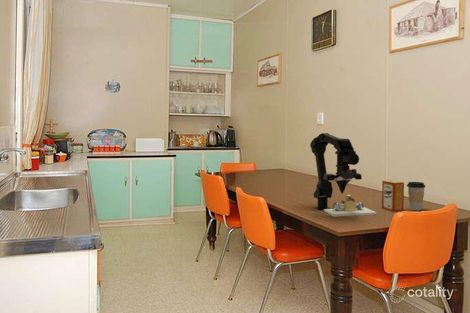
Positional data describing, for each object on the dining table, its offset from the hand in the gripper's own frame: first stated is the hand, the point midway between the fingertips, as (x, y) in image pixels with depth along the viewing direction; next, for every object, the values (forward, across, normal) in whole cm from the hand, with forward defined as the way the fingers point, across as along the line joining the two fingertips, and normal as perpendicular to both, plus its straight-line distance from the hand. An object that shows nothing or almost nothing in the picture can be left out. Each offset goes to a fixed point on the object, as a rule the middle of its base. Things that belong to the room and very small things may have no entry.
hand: (342, 193), depth 210 cm
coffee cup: (+12, +46, +6) cm, 48 cm away
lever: (+5, +7, +3) cm, 9 cm away
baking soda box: (+12, +34, +9) cm, 37 cm away
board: (+12, +7, +6) cm, 15 cm away
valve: (+11, +7, +7) cm, 15 cm away
